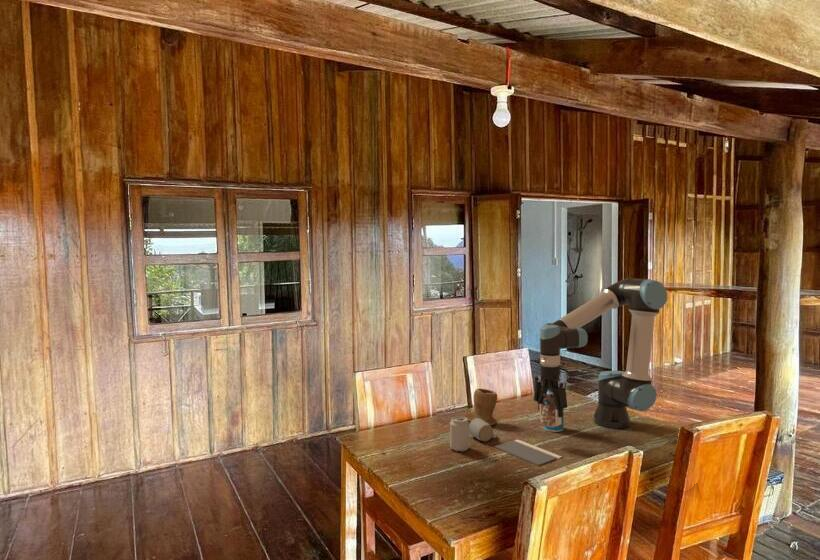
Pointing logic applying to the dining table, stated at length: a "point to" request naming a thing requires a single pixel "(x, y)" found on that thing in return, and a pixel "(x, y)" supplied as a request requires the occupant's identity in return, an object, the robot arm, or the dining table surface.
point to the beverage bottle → (560, 427)
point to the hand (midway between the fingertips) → (550, 422)
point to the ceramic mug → (481, 430)
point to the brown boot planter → (483, 406)
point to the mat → (525, 453)
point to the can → (459, 434)
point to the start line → (538, 449)
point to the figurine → (548, 411)
